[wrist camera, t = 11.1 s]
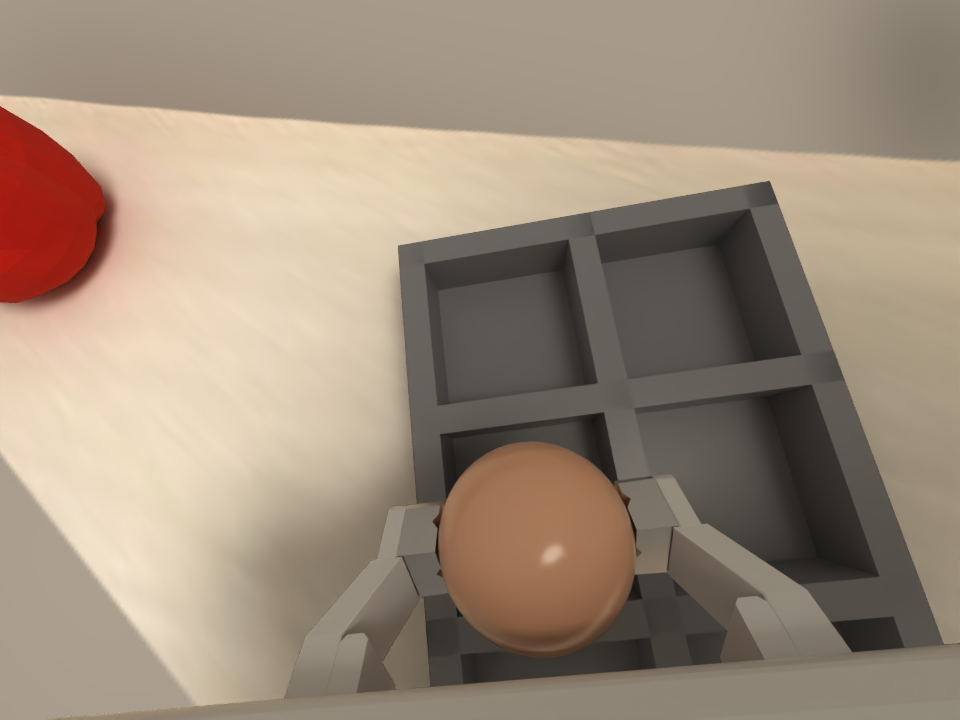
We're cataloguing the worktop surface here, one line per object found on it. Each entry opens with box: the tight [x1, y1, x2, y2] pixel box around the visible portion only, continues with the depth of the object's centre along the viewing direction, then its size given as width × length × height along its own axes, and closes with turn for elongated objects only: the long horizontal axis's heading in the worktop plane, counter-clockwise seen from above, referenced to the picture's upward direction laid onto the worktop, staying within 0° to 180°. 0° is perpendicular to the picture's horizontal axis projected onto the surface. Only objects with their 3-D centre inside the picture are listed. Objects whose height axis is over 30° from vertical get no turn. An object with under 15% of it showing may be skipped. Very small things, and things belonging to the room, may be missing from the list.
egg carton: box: [398, 181, 944, 687], centre depth 17 cm, size 17×25×4 cm
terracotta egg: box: [438, 441, 636, 658], centre depth 11 cm, size 5×5×8 cm
